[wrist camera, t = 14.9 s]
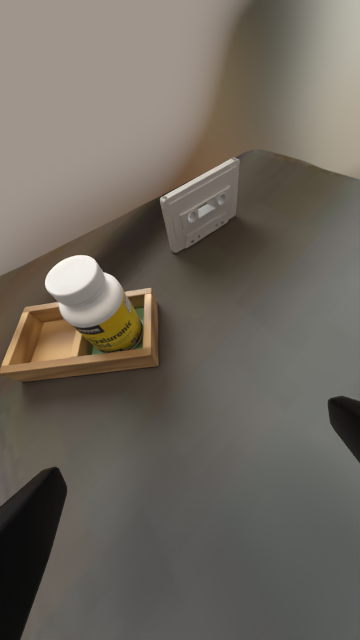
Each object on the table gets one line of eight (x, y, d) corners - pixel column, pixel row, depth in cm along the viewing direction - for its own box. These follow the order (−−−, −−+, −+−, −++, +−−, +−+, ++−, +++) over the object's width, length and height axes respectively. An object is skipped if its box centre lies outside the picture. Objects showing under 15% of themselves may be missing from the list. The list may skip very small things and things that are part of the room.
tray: (158, 366, 22) (150, 355, 19) (21, 382, 23) (-3, 373, 21) (157, 303, 26) (151, 287, 24) (42, 320, 28) (24, 306, 25)
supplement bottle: (101, 365, 22) (32, 314, 14) (95, 325, 25) (35, 262, 17) (150, 346, 22) (111, 285, 14) (138, 308, 25) (100, 239, 17)
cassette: (176, 256, 30) (165, 203, 24) (169, 250, 31) (156, 197, 25) (238, 216, 33) (243, 159, 26) (229, 212, 34) (232, 155, 27)
